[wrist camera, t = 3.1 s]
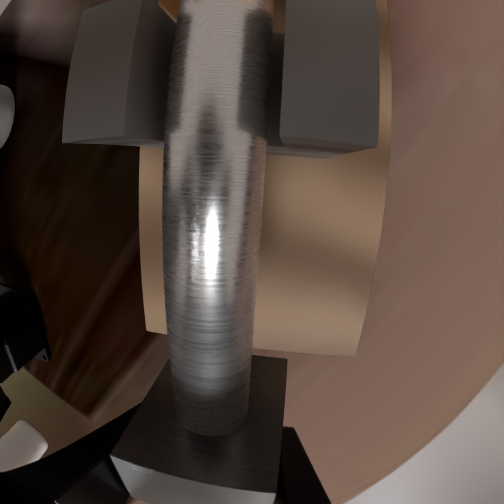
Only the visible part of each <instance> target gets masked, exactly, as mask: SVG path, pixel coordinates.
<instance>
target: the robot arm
mask: <svg viewBox="0 0 504 504" xmlns="http://www.w3.org/2000/svg"><path fill="white" fill-rule="evenodd" d="M34 357H36V358H38V359H40V360H42V361H45V362H49V361H50V360H51V356H50V352H49V349H48V346H47V343H46V339H45V336H44V332H43V328H42V324H41V321H40V317H39V312H38V308H37V304H36V299H35V296H34V295H33V293H31V292H29V291H25V290H22V289H19V288H15V287H12V286H9V285H6V284H3V283H0V383H2V382H4V381H5V380H6V379H7V378H8V377H9V376H10V375H11V374H13V373H14V372H17V371H19V370H20V369H21V368H22V367H23V366H24V365H26V364H27V363H28V362H29V361H30V360H31V359H33V358H34ZM141 403H142V402H141ZM141 403H140V404H138V405H136V406H135V407H133V408H132V409H130V410H128V411H127V412H125V413H123V414H122V415H120V416H118V417H117V418H115V419H113V420H112V421H110V422H108V423H107V424H105V425H103V426H102V427H100V428H98V429H96V430H95V431H93V432H91V433H90V434H88V435H86V436H84V437H82V438H81V439H79V440H77V441H75V442H74V443H72V444H70V445H69V446H67V447H66V448H65V447H64V448H63V449H61V450H59V451H57V452H55V453H53V454H51V455H49V456H47V457H44V458H42V459H40V460H37V461H35V462H32V463H29V464H26V465H23V466H21V467H18V468H15V469H12V470H9V471H5V472H0V504H126V503H127V501H128V498H129V496H130V493H129V492H128V490H127V488H126V486H125V484H124V482H123V481H122V479H121V477H120V475H119V473H118V471H117V469H116V467H115V465H114V463H113V461H112V459H111V457H110V454H111V452H112V450H113V449H114V447H115V445H116V444H117V442H118V441H119V439H120V437H121V436H122V434H123V432H124V431H125V429H126V427H127V426H128V424H129V423H130V421H131V419H132V418H133V416H134V414H135V413H136V411H137V410H138V408H139V406H140V405H141ZM10 404H11V401H10V400H9V398H8V397H7V396H6V395H5V393H4V392H3V390H2V388H1V387H0V421H1V420H2V418H3V416H4V414H5V413H6V411H7V409H8V408H9V406H10ZM273 504H331V502H330V500H329V498H328V496H327V494H326V492H325V490H324V488H323V486H322V484H321V482H320V480H319V478H318V476H317V474H316V472H315V470H314V468H313V466H312V464H311V462H310V460H309V458H308V456H307V454H306V452H305V449H304V447H303V445H302V443H301V441H300V439H299V437H298V435H297V433H296V431H295V429H294V428H293V427H285V426H283V430H282V441H281V452H280V463H279V473H278V482H277V491H276V496H275V499H274V503H273Z"/></svg>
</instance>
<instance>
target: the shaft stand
mask: <svg viewBox="0 0 504 504" xmlns="http://www.w3.org/2000/svg"><path fill="white" fill-rule="evenodd" d="M176 22H177V18H175V17H174V16H173V15H172V14H171V13H170V12H169V11H168V10H167V9H166V8H165V7H164V6H163V5H162V4H161V3H160V2H159V0H158V4H157V3H156V2H155V1H154V0H111V1H108V2H105V3H102V4H99V5H96V6H93V7H90V8H87V9H84V10H83V11H82V15H81V19H80V23H79V27H78V31H77V35H76V40H75V44H74V49H73V54H72V60H71V65H70V71H69V78H68V85H67V92H66V100H65V110H64V121H63V136H62V143H88V144H111V145H128V146H140V166H139V232H140V257H141V274H142V288H143V300H144V310H145V320H146V329H147V331H152V332H157V333H162V334H167V326H166V313H165V297H164V277H163V246H162V186H163V155H164V136H165V120H166V107H167V95H168V85H169V75H170V66H171V58H172V50H173V43H174V36H175V29H176ZM391 116H392V67H391V44H390V30H389V18H388V8H387V0H275V7H274V25H273V44H272V61H271V79H270V96H269V113H268V129H267V145H266V161H265V176H264V192H263V207H262V222H261V236H260V251H259V265H258V279H257V294H256V307H255V321H254V335H253V348H260V349H268V350H278V351H288V352H299V353H312V354H326V355H344V356H355V354H356V350H357V346H358V342H359V339H360V335H361V331H362V327H363V323H364V318H365V314H366V310H367V305H368V301H369V296H370V292H371V287H372V282H373V277H374V271H375V266H376V261H377V255H378V249H379V243H380V236H381V230H382V223H383V215H384V207H385V199H386V190H387V180H388V169H389V156H390V140H391Z"/></svg>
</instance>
